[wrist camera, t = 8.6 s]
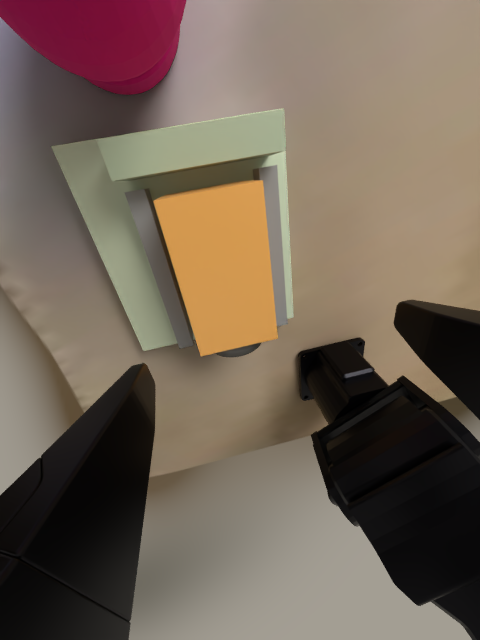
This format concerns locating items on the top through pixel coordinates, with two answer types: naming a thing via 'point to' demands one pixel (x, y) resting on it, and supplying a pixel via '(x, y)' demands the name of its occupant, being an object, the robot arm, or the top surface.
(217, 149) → the pale green tray
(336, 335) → the top surface
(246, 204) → the orange tapered block
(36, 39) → the pepper mill
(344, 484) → the robot arm
